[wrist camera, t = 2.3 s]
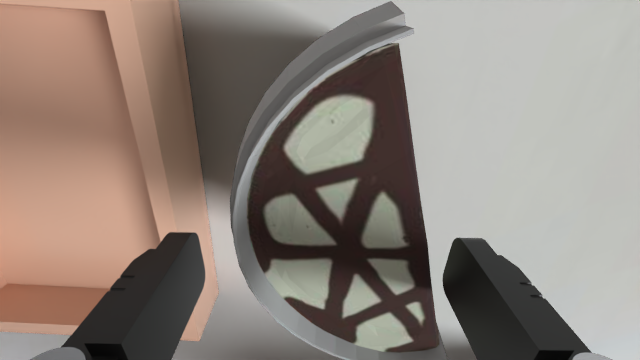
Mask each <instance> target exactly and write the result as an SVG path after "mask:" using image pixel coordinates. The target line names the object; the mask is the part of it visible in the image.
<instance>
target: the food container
mask: <svg viewBox="0 0 640 360" xmlns="http://www.w3.org/2000/svg"><path fill="white" fill-rule="evenodd" d="M411 34H414V28H411V27H408V26H406V22H405V14H404V12H402V11H401V10H400V9H399V8H398V7H397V6H396V5H395V4H394V3H393V2H391V1H390V2H388V3H385V4H383V5H381V6H378V7H376V8H373V9H371V10H369V11H366V12H364V13H362V14H359V15H357V16H355V17H352V18H351V19H349V20H348V21H346V22H344V23H343V24H341V25H340V26H338V27H336V28H335V29H333V30H331V31H330V32H328V33H327V34H325V35H323V36H322V37H320V38H319V39H317V40H316V41H315V42H314V43H312V44H311V45H310V46H309V47H308V48H307V49H306V50H304V51H303V52H302V53H301V54H300V55H299V56H298V57H296V58H295V59H294V60H293V61H292V62H291V63H290V64H288V65H287V67H286V68H285V69H284V70H283V72H282V73H281V74H280V75H279V76H278V78H277V79H276V80H275V81H274V83H273V84H272V85H271V86H270V87H269V89H268V90H267V91H266V92H265V94H264V96H263V97H262V99H261V101H260V103H259V105H258V106H257V108H256V110H255V112H254V113H253V115H252V117H251V119H250V120H249V123H248V126H247V129H246V132H245V134H244V137H243V140H242V143H241V146H240V149H239V153H238V158H237V163H236V167H235V172H234V178H233V184H232V191H231V197H230V213H231V228H232V233H233V237H234V245H235V250H236V254H237V258H238V262H239V266H240V268H241V271H242V273H243V275H244V277H245V280H246V282H247V284H248V286H249V288H250V289H251V291H252V292H253V294H254V295H255V297H256V298H257V300H258V301H259V303H260V304H261V305H262V307H263V308H264V309H265V310H266V311H267V312H268V313H269V314H270V315H271V316H272V317H273V318H274V319H275V320H276V321H277V322H278V323H279V324H280V325H282V326H283V327H284V328H285V329H287V330H288V331H289V332H290V333H292V334H293V335H294V336H296V337H298V338H299V339H301V340H303V341H304V342H306V343H308V344H309V345H311V346H313V347H315V348H317V349H319V350H321V351H324V352H326V353H328V354H330V355H332V356H335V357H338V358H341V359H344V360H448V359H447V355H446V352H445V349H444V346H443V342H442V339H441V336H440V333H439V330H438V326H437V323H436V318H435V310H434V302H433V294H432V286H431V277H430V266H429V256H428V245H427V238H426V232H425V226H424V220H423V213H422V207H421V201H420V193H419V186H418V179H417V171H416V164H415V157H414V149H413V142H412V134H411V127H410V119H409V112H408V104H407V97H406V90H405V83H404V76H403V69H402V63H401V56H400V49H399V43H391V42H394V41H396V40H399V39H401V38H404V37H406V36H409V35H411ZM389 43H391V44H389Z"/></svg>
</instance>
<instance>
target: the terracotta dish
mask: <svg viewBox="0 0 640 360" xmlns="http://www.w3.org/2000/svg"><path fill="white" fill-rule="evenodd" d="M169 232H194V233H197V235H198V237H199V241H200V246H201V251H202V256H203V261H204V266H205V283H204V287H203V290H202V292H201V295H200V297H199V299H198V301H197V303H196V306H195V308H194V310H193V312H192V315H191V317H190V319H189V321H188V323H187V326H186V328H185V330H184V332H183V334H182V337H181V339H180V340H186V341H200V338H201V336H202V334H203V331H204V329H205V326H206V324H207V321H208V319H209V316H210V314H211V311H212V309H213V306H214V304H215V301H216V299H217V296H218V294H219V291H218V283H217V276H216V269H215V262H214V255H213V247H212V240H211V233H210V226H209V219H208V211H207V204H206V197H205V190H204V182H203V175H202V168H201V161H200V154H199V146H198V139H197V132H196V125H195V118H194V110H193V103H192V96H191V89H190V82H189V74H188V67H187V60H186V53H185V45H184V38H183V31H182V24H181V17H180V9H179V2H178V0H0V332H20V333H40V334H61V335H72V334H73V333H74V331H75V330H76V329H77V328H78V326H79V325H80V324H81V323H82V322H83V320H84V319H85V318H86V317H87V316H88V314H89V313H90V312H91V311H92V309H93V308H94V307H95V306H96V305H97V303H98V302H99V301H100V300H101V298H102V297H103V296H104V295H105V294H106V292H107V291H110V288H111V286H112V285H113V284H114V283H115V281H116V280H117V279H118V278H120V275H121V274H122V273H123V272H124V270H125V269H126V268H127V267H128V266H129V264H130V263H131V262H132V261H133V260H134V259H136V258H137V257H139V256H140V255H141V254H143V253H144V252H146V251H147V250H148V249H156V248H157V246H158V245H159V244H160V242H161V241H162V240H163V239H164V237H165V236H166V235H167V234H168V233H169Z"/></svg>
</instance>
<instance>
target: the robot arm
mask: <svg viewBox="0 0 640 360" xmlns="http://www.w3.org/2000/svg"><path fill="white" fill-rule="evenodd" d="M204 283H205V266H204V261H203V256H202V251H201V246H200V241H199V237H198V235H197V233H194V232H169V233H168V234H167V235H166V236H165V237H164V239H163V240H162V241H161V242H160V244H159V245H158V246H157V248H156V249H148V250H147V251H146V252H144V253H143V254H141V255H140V256H139V257H137V258H136V259H134V260H133V261H132V262H131V263H130V264H129V266H128V267H127V268H126V269H125V270H124V272H123V273H122V274H121V275H120V278H118V279H117V280H116V281H115V283H114V284H113V285H112V286H111V288H110V291H107V292H106V294H105V295H104V296H103V297H102V298H101V300H100V301H99V302H98V303H97V305H96V306H95V307H94V308H93V309H92V311H91V312H90V313H89V314H88V316H87V317H86V318H85V319H84V320H83V322H82V323H81V324H80V325H79V326H78V328H77V329H76V330H75V331H74V333H73V334H72V335H71V336H70V337H69V339H68V340H67V341H66V342H65V343H64V345H63V346H62V347H61V348H56V349H53V350H49V351H47V352H44V353H42V354H40V355H38V356H36V357H34V358H32V359H30V360H171V359H172V357H173V354H174V352H175V350H176V348H177V345H178V343H179V341H180V339H181V337H182V334H183V332H184V330H185V328H186V326H187V323H188V321H189V319H190V317H191V315H192V312H193V310H194V308H195V306H196V303H197V301H198V299H199V297H200V295H201V292H202V290H203V287H204ZM443 287H444V291H445V294H446V296H447V298H448V300H449V303H450V305H451V307H452V309H453V311H454V313H455V315H456V317H457V319H458V321H459V323H460V325H461V327H462V329H463V331H464V333H465V335H466V337H467V339H468V341H469V343H470V345H471V347H472V349H473V351H474V353H475V355H476V357H477V360H612V359H610V358H608V357H605V356H602V355H599V354H595V353H592V352H591V351H590V350H589V349H588V348H587V347H586V345H585V344H584V343H583V342H582V341H581V340H580V338H579V337H578V336H577V335H576V334H575V333H574V331H573V330H572V329H571V328H570V327H569V326H568V325H567V323H566V322H565V321H564V320H563V319H562V318H561V316H560V315H559V314H558V313H557V312H556V311H555V309H554V308H553V307H552V306H551V305H550V304H549V302H548V301H547V300H546V299H543V298H542V294H541V293H540V292H539V291H538V290H537V289H536V287H535V286H532V285H531V282H530V280H529V279H528V278H527V277H526V276H525V275H524V273H523V272H522V271H521V270H520V269H519V268H518V267H517V266H515V265H514V264H513V263H511V262H510V261H508V260H507V259H506V258H504V257H503V256H501V255H497V254H496V253H495V252H494V251H493V249H492V248H491V247H490V246H489V244H488V243H487V242H486V241H485V240H484V239H482V238H456V239H455V240H454V241H453V243H452V246H451V249H450V253H449V256H448V260H447V263H446V266H445V270H444V273H443Z"/></svg>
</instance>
